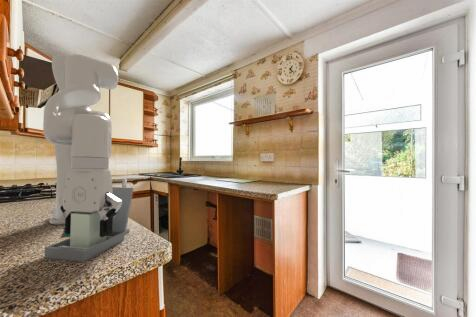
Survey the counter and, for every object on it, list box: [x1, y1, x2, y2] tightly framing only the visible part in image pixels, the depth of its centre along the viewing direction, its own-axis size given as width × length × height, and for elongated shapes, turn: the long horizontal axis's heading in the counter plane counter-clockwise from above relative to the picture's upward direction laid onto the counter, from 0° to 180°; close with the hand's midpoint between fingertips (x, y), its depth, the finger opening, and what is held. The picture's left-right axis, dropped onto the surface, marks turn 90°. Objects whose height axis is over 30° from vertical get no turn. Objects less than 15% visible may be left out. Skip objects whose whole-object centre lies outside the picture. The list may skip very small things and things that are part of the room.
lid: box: [106, 186, 134, 232], centre depth 57 cm, size 10×12×1 cm
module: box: [69, 210, 106, 248], centre depth 49 cm, size 5×5×10 cm
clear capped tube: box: [121, 178, 131, 236], centre depth 59 cm, size 2×2×17 cm
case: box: [44, 231, 125, 263], centre depth 49 cm, size 10×12×3 cm
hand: (88, 233), depth 49 cm, fingers open, 9 cm apart
